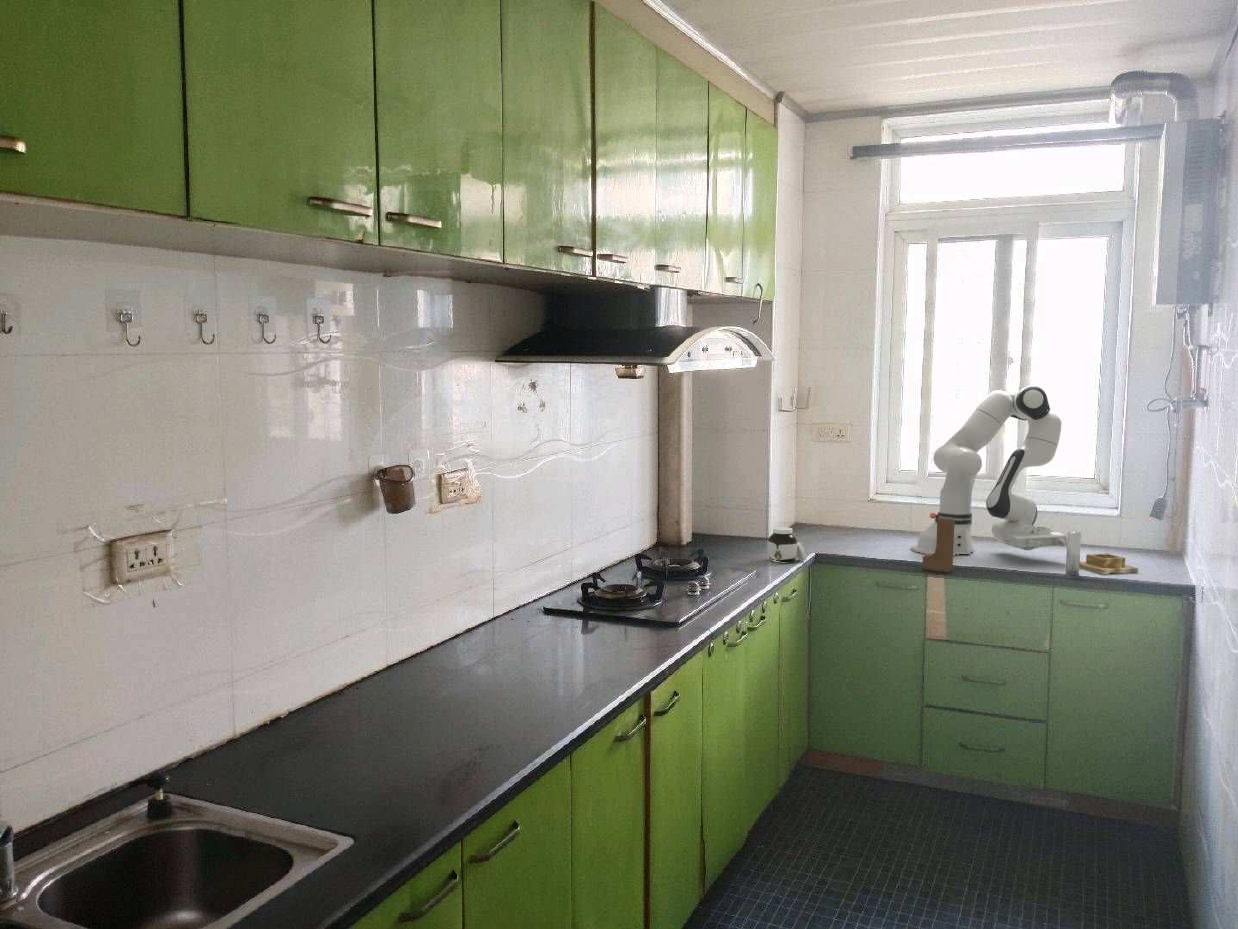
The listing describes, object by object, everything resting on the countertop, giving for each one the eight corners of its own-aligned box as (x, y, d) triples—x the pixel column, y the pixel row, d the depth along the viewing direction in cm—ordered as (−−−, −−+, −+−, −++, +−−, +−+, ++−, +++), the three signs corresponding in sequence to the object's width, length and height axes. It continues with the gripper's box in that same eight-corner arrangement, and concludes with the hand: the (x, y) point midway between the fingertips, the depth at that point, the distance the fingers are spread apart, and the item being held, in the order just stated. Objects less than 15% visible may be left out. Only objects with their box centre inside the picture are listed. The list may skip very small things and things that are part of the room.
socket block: (1101, 574, 328) (1102, 561, 328) (1073, 566, 342) (1073, 553, 342) (1137, 572, 332) (1138, 559, 331) (1108, 564, 345) (1108, 551, 345)
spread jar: (763, 560, 351) (764, 527, 350) (785, 556, 358) (785, 524, 357) (790, 566, 342) (790, 532, 341) (811, 561, 349) (812, 528, 348)
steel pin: (1071, 575, 327) (1073, 533, 325) (1062, 573, 331) (1064, 531, 329) (1081, 575, 328) (1083, 533, 326) (1073, 572, 332) (1075, 531, 330)
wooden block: (921, 569, 336) (923, 516, 334) (926, 567, 340) (928, 515, 338) (948, 573, 331) (950, 519, 329) (953, 570, 334) (955, 517, 332)
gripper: (1000, 529, 349) (1025, 536, 336) (1051, 527, 354) (1077, 533, 341) (1000, 547, 350) (1025, 554, 337) (1050, 544, 355) (1077, 552, 342)
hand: (1052, 544), depth 339 cm, fingers open, 8 cm apart
